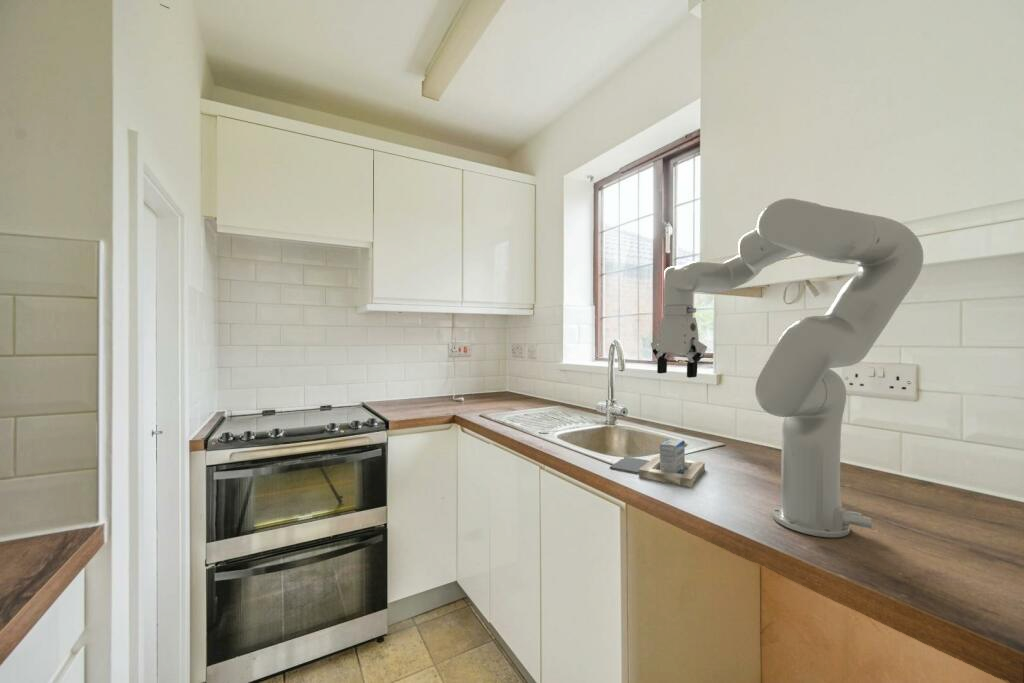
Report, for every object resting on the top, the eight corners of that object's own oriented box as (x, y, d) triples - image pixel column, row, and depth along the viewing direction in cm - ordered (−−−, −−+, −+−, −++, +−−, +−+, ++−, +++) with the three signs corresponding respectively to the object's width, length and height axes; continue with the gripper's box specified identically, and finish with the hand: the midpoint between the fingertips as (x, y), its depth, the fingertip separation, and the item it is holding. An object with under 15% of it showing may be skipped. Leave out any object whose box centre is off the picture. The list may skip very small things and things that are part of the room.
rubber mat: (651, 462, 123) (651, 460, 123) (637, 474, 113) (637, 472, 113) (625, 458, 127) (625, 456, 127) (609, 468, 118) (609, 466, 118)
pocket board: (704, 469, 116) (704, 462, 116) (690, 487, 103) (690, 479, 103) (657, 461, 124) (657, 454, 124) (638, 476, 111) (638, 469, 111)
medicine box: (676, 479, 109) (676, 446, 109) (659, 475, 112) (659, 443, 111) (685, 471, 115) (685, 439, 115) (668, 468, 118) (668, 437, 118)
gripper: (715, 312, 107) (713, 378, 108) (661, 313, 122) (660, 370, 123) (697, 311, 104) (695, 380, 105) (643, 312, 119) (642, 372, 120)
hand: (676, 375), depth 114 cm, fingers open, 9 cm apart
